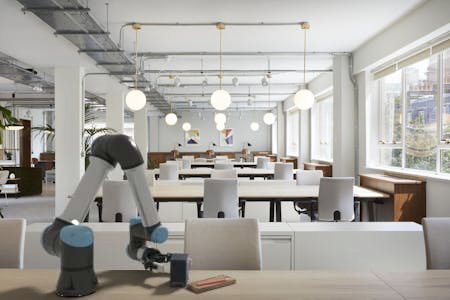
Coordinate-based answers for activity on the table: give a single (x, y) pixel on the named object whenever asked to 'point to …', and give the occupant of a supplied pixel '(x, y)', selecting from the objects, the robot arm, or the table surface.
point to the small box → (179, 270)
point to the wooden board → (203, 288)
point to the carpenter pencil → (212, 282)
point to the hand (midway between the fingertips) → (177, 265)
